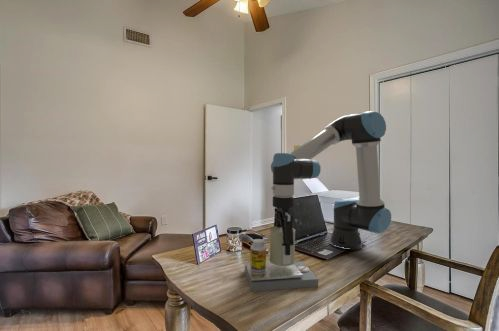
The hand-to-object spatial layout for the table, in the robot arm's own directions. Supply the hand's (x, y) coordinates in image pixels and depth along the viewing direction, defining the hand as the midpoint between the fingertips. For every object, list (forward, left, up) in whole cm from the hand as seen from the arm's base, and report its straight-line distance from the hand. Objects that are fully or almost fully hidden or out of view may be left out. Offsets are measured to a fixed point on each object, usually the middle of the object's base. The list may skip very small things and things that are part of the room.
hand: (282, 258), depth 91 cm
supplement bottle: (+9, 0, -4) cm, 10 cm away
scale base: (+1, 0, -7) cm, 7 cm away
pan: (+4, 0, -4) cm, 6 cm away
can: (0, 0, -1) cm, 1 cm away
